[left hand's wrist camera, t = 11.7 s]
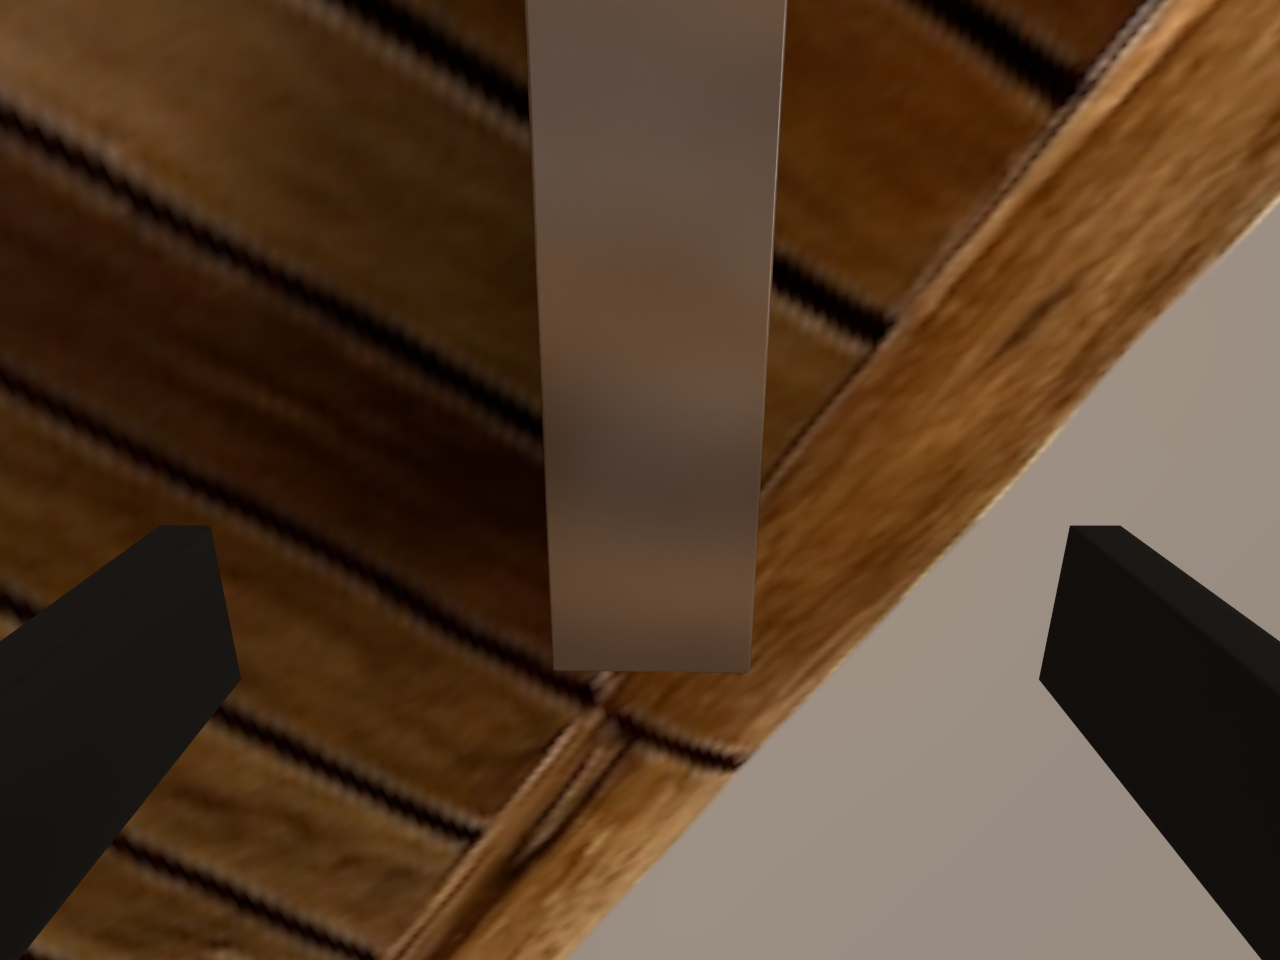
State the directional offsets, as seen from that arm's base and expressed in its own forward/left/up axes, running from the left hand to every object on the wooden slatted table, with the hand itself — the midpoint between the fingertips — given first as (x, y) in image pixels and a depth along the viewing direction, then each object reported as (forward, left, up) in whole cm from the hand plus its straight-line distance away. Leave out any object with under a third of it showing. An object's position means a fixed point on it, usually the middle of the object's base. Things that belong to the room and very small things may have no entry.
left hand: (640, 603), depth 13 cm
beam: (-10, +18, -15) cm, 25 cm away
